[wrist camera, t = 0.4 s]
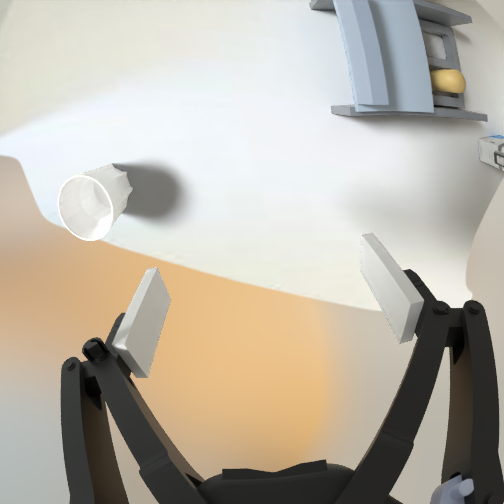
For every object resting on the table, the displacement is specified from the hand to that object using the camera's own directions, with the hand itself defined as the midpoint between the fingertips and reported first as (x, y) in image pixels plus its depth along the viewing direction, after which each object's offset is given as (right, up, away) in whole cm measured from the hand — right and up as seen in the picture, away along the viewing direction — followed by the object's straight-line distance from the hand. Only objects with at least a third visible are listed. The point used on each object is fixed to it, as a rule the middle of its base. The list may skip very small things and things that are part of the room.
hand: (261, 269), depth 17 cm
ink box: (+49, +23, +20) cm, 58 cm away
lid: (+16, +27, +7) cm, 32 cm away
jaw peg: (+31, +31, +15) cm, 46 cm away
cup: (-24, +12, +25) cm, 37 cm away
